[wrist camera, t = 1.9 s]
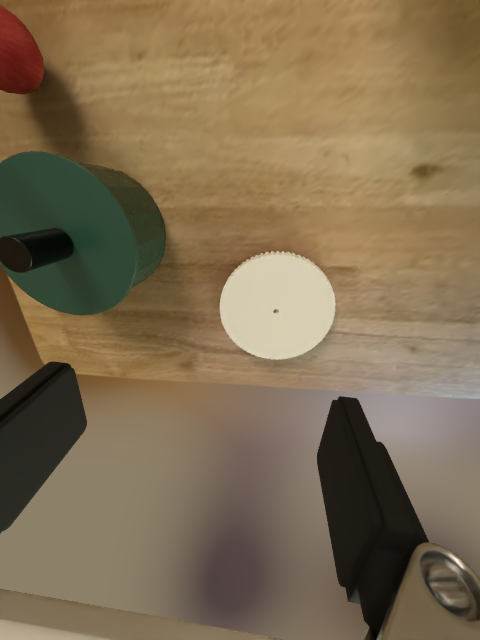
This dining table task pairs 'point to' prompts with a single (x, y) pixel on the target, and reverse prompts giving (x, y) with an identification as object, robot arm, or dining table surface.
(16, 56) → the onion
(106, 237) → the lid
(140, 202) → the pot
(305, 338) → the plastic lid
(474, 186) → the dining table surface
